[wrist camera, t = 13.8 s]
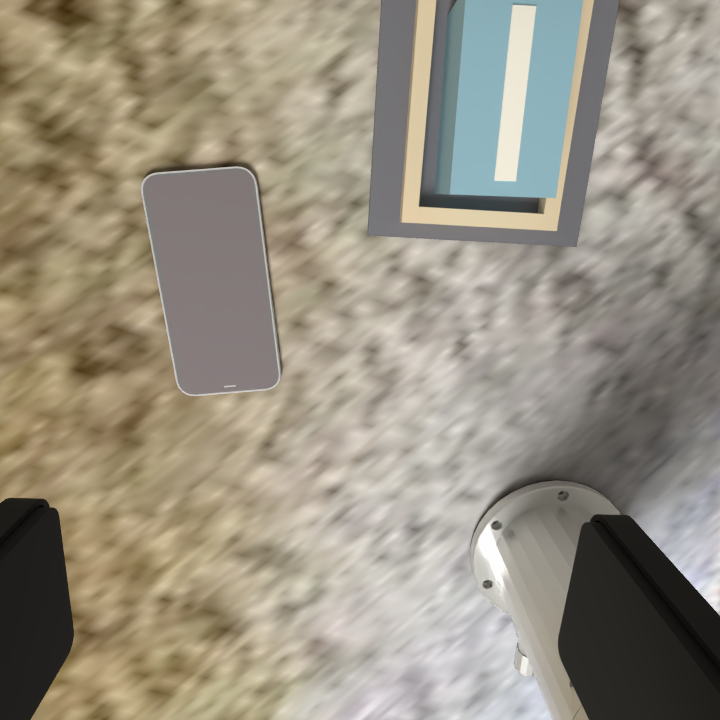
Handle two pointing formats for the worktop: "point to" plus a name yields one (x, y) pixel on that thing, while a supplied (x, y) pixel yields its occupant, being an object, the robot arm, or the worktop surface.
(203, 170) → the smartphone
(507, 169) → the card box
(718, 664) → the robot arm
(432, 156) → the mat
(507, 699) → the worktop surface
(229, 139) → the worktop surface
